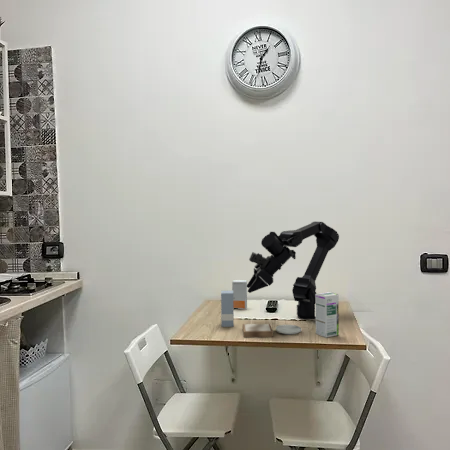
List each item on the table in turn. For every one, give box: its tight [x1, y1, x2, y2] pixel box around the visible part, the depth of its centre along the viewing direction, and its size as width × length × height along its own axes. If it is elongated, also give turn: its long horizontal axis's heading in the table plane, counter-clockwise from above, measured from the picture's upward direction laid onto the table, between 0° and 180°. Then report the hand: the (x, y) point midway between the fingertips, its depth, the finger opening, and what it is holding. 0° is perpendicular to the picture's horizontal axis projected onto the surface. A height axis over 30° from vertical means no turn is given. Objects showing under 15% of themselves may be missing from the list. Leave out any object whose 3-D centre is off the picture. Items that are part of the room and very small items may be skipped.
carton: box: [220, 290, 235, 328], centre depth 181 cm, size 5×5×12 cm
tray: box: [242, 323, 274, 338], centre depth 170 cm, size 10×10×2 cm
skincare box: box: [231, 279, 248, 310], centre depth 207 cm, size 6×4×12 cm
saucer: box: [275, 324, 302, 335], centre depth 170 cm, size 9×9×2 cm
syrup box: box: [315, 291, 340, 338], centre depth 167 cm, size 6×6×14 cm
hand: (247, 289), depth 180 cm, fingers open, 9 cm apart
